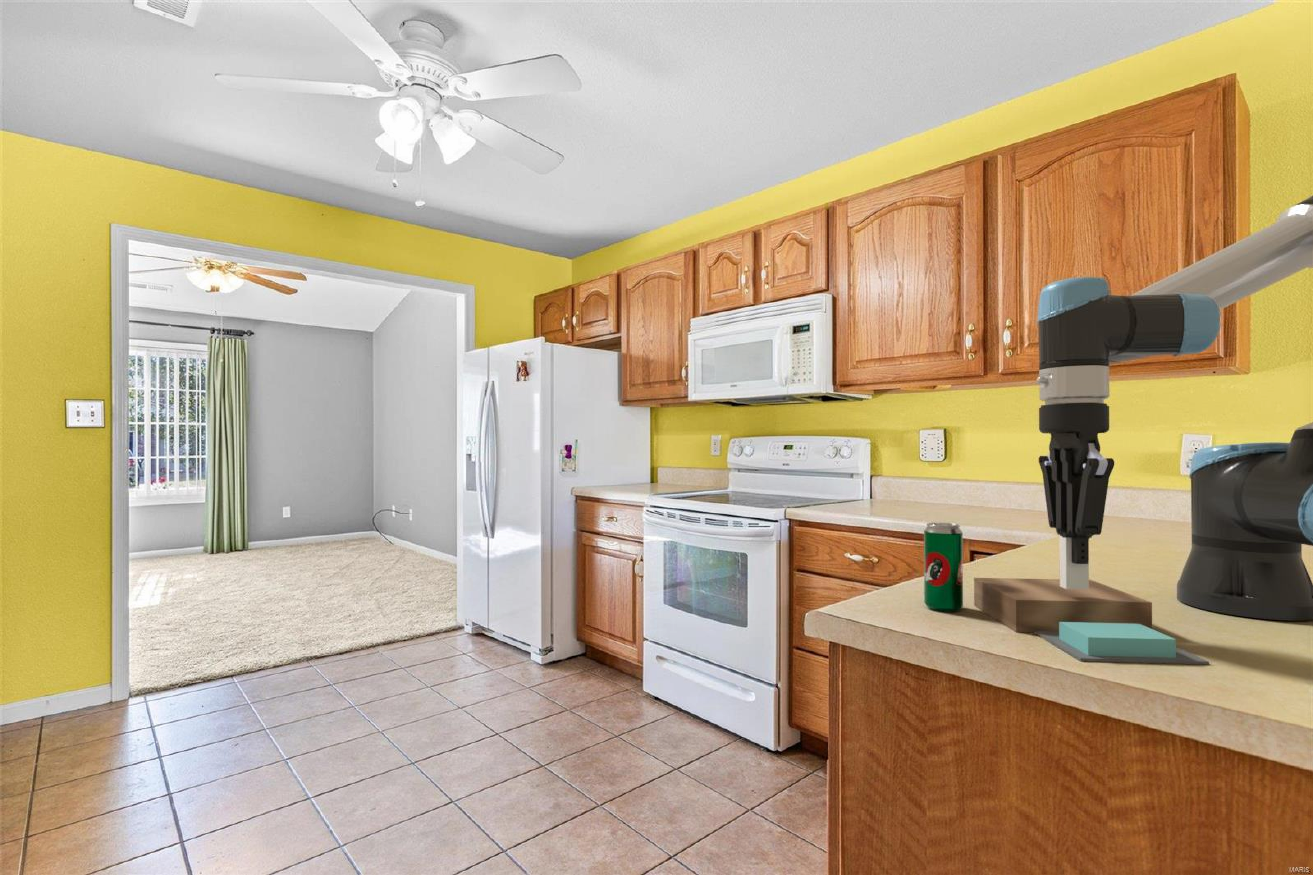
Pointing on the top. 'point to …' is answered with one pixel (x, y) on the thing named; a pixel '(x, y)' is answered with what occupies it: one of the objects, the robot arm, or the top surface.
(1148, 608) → the brown wooden flat block
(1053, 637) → the mat
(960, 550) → the soda can
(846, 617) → the top surface
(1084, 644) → the teal rectangular block
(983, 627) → the top surface
